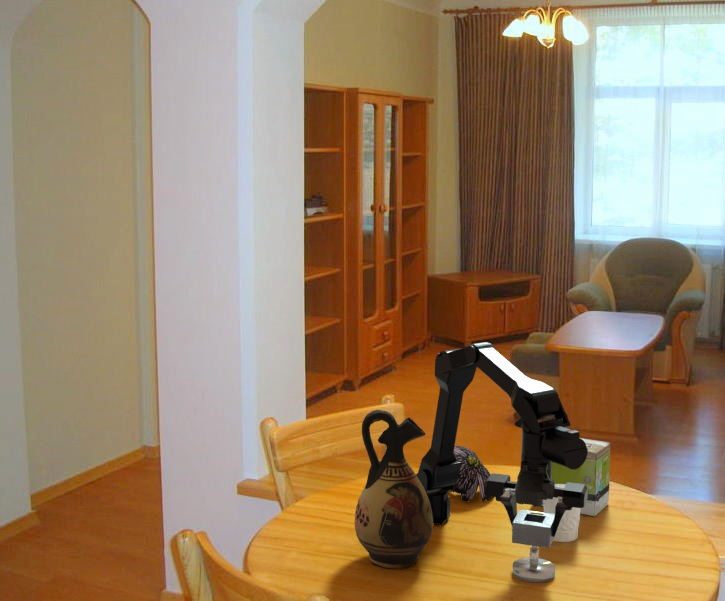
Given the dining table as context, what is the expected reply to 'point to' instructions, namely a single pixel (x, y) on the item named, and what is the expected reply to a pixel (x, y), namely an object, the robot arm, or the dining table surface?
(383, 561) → the ceramic jug
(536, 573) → the hub
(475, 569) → the dining table surface
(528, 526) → the grey knob housing box
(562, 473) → the tea box
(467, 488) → the decorative flower
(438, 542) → the dining table surface
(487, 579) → the dining table surface
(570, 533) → the white cup
